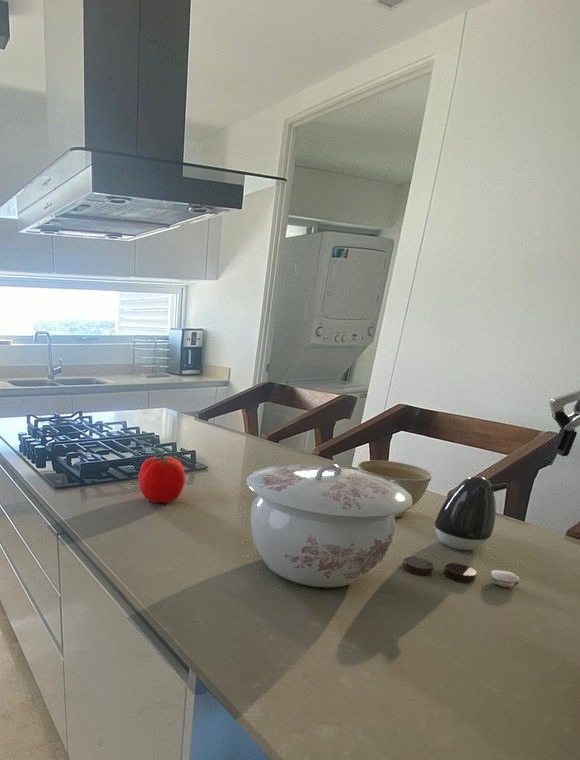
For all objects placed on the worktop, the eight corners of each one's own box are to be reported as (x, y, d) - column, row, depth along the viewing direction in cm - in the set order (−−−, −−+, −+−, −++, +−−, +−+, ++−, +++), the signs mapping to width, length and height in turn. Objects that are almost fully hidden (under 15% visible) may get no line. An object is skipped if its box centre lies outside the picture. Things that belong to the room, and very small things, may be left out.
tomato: (127, 501, 125) (128, 457, 120) (155, 488, 135) (156, 447, 130) (168, 511, 118) (170, 466, 114) (194, 497, 129) (197, 454, 124)
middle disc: (470, 572, 92) (472, 565, 92) (477, 585, 88) (479, 577, 88) (440, 568, 94) (442, 561, 93) (445, 579, 90) (448, 572, 89)
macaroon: (499, 590, 87) (503, 577, 86) (479, 576, 91) (483, 564, 90) (522, 590, 87) (527, 577, 86) (501, 576, 91) (505, 564, 90)
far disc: (429, 566, 95) (431, 559, 94) (433, 577, 90) (435, 570, 90) (400, 561, 96) (402, 554, 96) (403, 572, 92) (405, 565, 91)
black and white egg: (493, 559, 98) (520, 487, 92) (435, 551, 101) (457, 481, 95) (478, 539, 107) (501, 472, 100) (425, 532, 110) (444, 467, 103)
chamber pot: (223, 588, 85) (236, 475, 77) (248, 531, 109) (260, 439, 100) (400, 624, 76) (437, 500, 68) (386, 553, 100) (412, 454, 91)
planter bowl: (394, 528, 112) (406, 483, 107) (335, 506, 124) (344, 465, 120) (434, 516, 119) (446, 473, 115) (374, 496, 132) (384, 457, 127)
